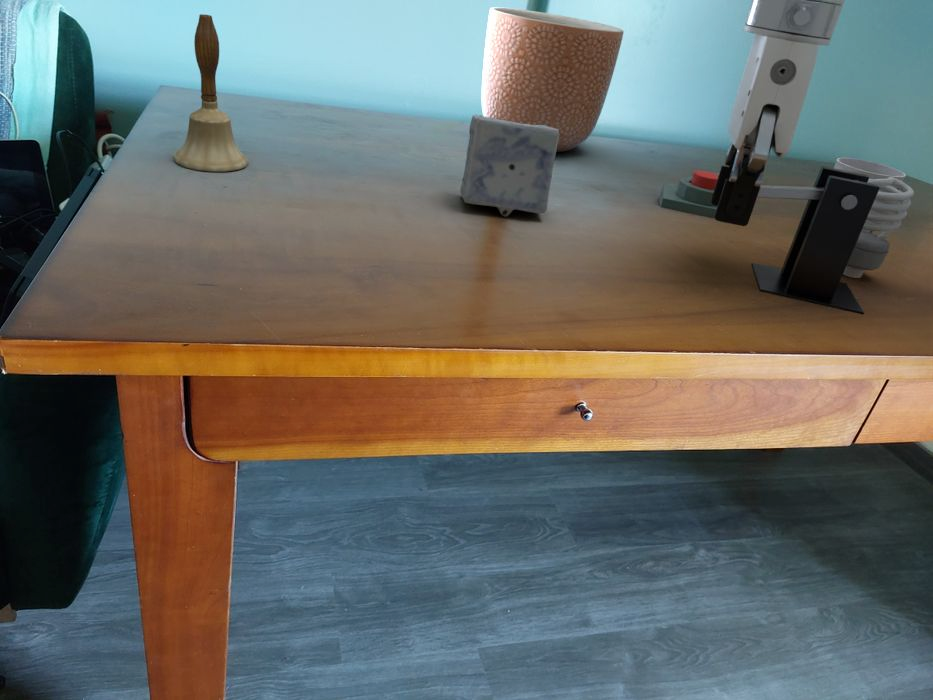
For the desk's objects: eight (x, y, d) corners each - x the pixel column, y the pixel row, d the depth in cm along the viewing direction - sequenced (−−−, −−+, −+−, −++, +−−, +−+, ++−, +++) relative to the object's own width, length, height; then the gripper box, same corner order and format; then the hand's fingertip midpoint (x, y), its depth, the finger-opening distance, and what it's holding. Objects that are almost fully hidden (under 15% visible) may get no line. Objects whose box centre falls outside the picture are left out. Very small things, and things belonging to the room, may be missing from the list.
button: (717, 187, 97) (721, 174, 97) (718, 194, 94) (723, 180, 93) (689, 181, 98) (693, 168, 97) (690, 188, 95) (694, 175, 94)
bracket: (756, 300, 73) (803, 175, 67) (748, 272, 80) (790, 157, 74) (859, 323, 72) (916, 198, 66) (842, 293, 79) (892, 177, 73)
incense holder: (536, 201, 92) (553, 117, 87) (544, 223, 85) (563, 133, 80) (459, 191, 91) (471, 105, 86) (460, 212, 84) (474, 120, 79)
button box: (731, 213, 101) (740, 185, 99) (736, 230, 94) (746, 200, 92) (658, 198, 102) (666, 170, 100) (658, 214, 95) (667, 184, 93)
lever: (726, 208, 72) (730, 184, 70) (723, 195, 76) (726, 172, 75) (861, 214, 69) (867, 189, 68) (849, 200, 73) (854, 176, 72)
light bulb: (831, 287, 80) (877, 180, 74) (812, 268, 85) (853, 166, 79) (881, 295, 80) (930, 189, 74) (859, 275, 85) (904, 174, 79)
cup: (880, 258, 93) (915, 181, 88) (816, 245, 93) (846, 168, 89) (861, 237, 100) (893, 165, 95) (801, 226, 100) (829, 153, 96)
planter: (445, 131, 119) (462, 3, 110) (520, 123, 134) (541, 10, 125) (548, 167, 108) (576, 29, 99) (618, 154, 123) (648, 33, 114)
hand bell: (184, 173, 81) (178, 18, 74) (165, 152, 87) (158, 6, 79) (257, 171, 86) (259, 24, 78) (235, 151, 91) (234, 13, 84)
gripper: (855, 34, 58) (776, 249, 66) (816, 23, 72) (756, 200, 81) (759, 18, 59) (693, 231, 67) (739, 10, 73) (688, 186, 82)
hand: (728, 212), depth 74 cm, fingers closed on lever, 5 cm apart
